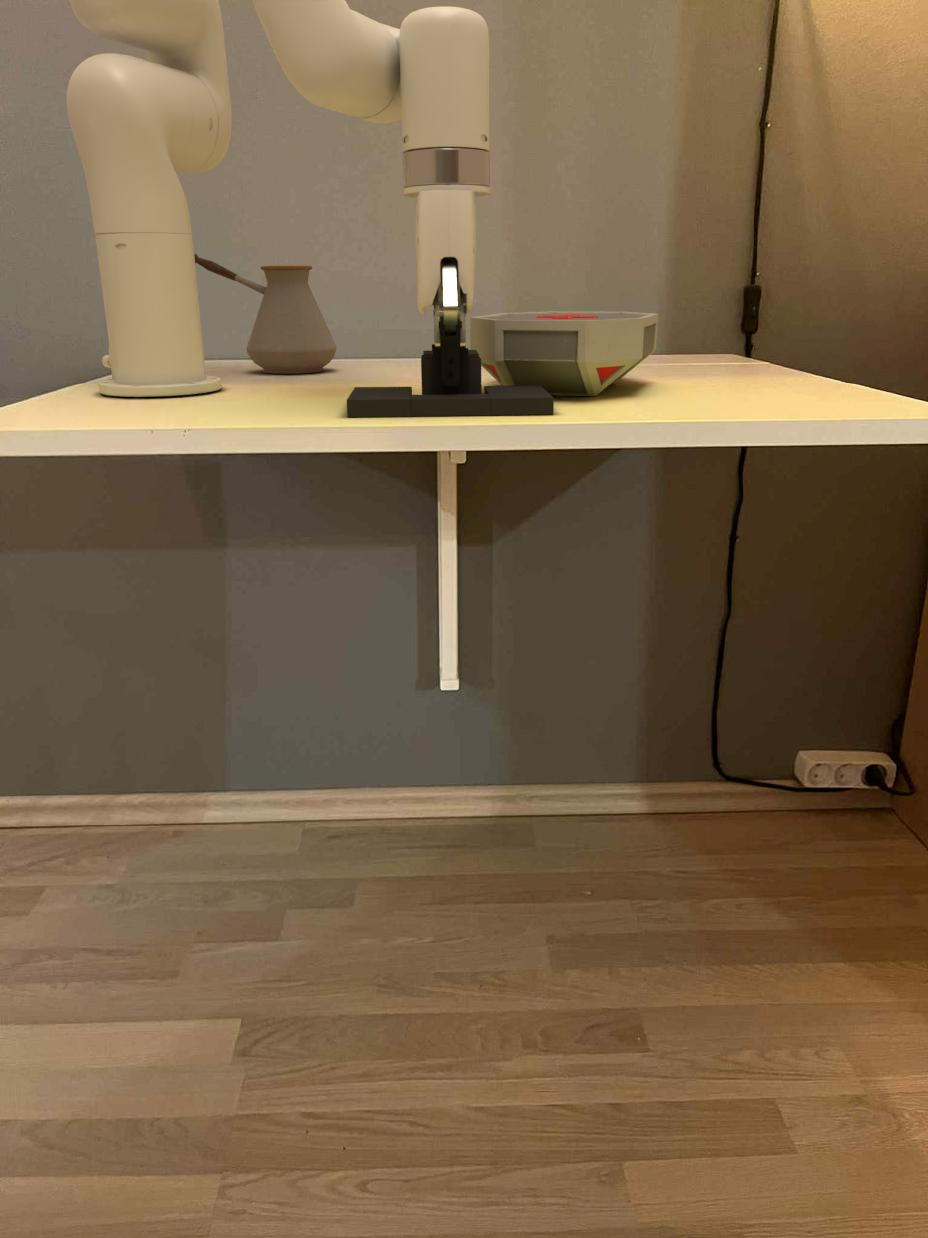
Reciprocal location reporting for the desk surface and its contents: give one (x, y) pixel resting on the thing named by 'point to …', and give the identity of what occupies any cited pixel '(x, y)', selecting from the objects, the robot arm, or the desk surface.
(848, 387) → the desk surface
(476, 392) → the black squarish block
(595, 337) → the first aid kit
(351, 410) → the base pad
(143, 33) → the robot arm
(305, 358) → the coffee pot
